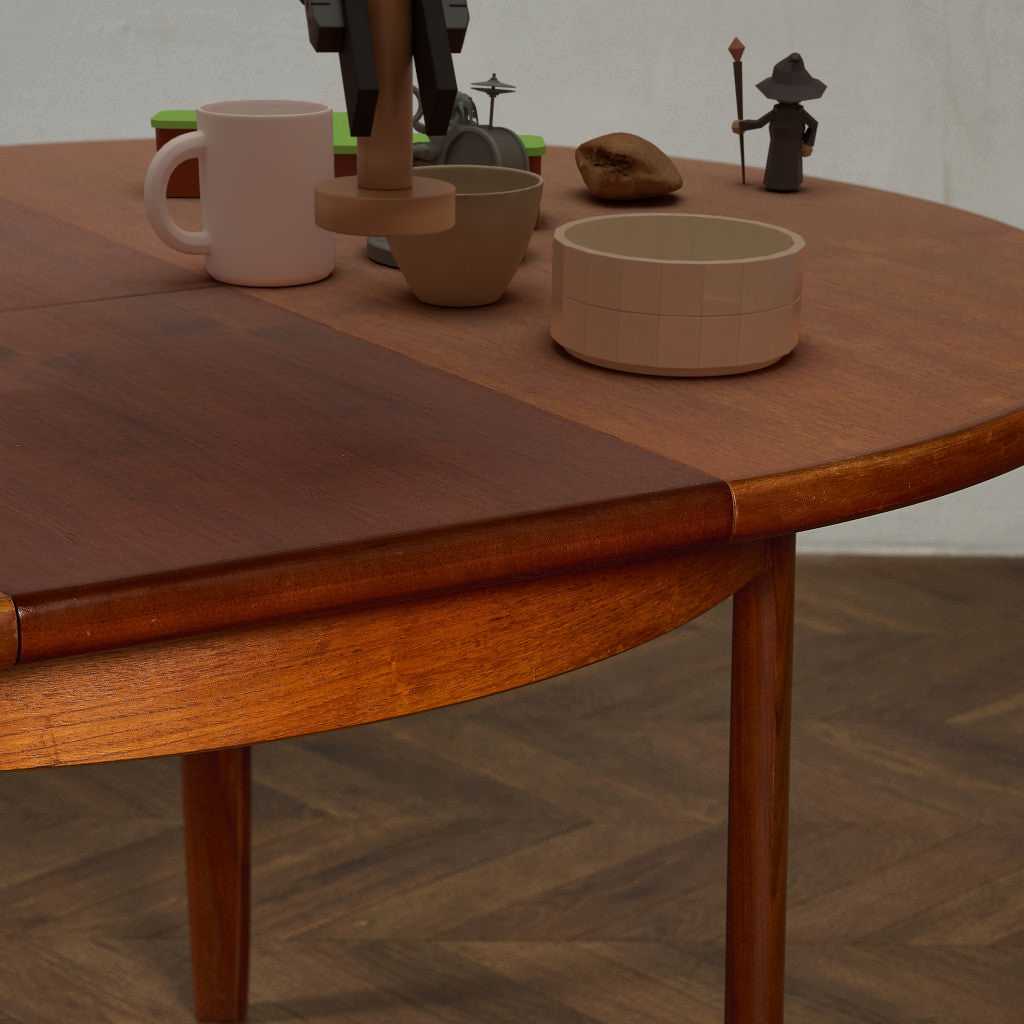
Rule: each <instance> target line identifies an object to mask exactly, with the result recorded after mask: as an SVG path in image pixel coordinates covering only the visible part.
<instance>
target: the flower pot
mask: <svg viewBox="0 0 1024 1024" xmlns="http://www.w3.org/2000/svg"><path fill="white" fill-rule="evenodd" d="M413 176H417V177H425V178H432V179H437V180H441V181H445V182H448V183H450V184H452V185H454V187H455V189H456V204H455V225H454V227H452V228H451V229H449V230H446V231H443V232H439V233H434V234H429V235H421V236H409V237H386V240H387V242H388V245H389V247H390V250H391V252H392V254H393V256H394V258H395V261H396V263H397V265H398V267H397V268H398V269H399V271H400V273H401V275H402V276H403V278H404V280H405V281H406V283H407V284H408V286H409V288H410V289H411V291H412V292H413V294H414V296H415V297H416V298H417V299H418V300H419V301H421V302H423V303H425V304H428V305H432V306H433V305H434V306H439V307H440V306H441V307H449V308H451V307H452V308H467V307H469V308H470V307H477V306H478V307H479V306H485V305H489V304H492V303H495V302H497V301H499V300H500V299H501V298H502V296H503V295H504V293H505V292H506V290H507V288H508V286H509V285H510V283H511V281H512V280H513V278H514V277H515V275H516V273H517V271H518V269H519V268H520V265H521V263H522V261H523V260H524V259H523V257H524V254H525V255H526V252H527V249H528V248H529V245H530V243H531V239H532V236H533V233H534V230H535V229H534V227H535V224H536V220H537V216H538V212H539V208H540V209H541V202H542V198H543V191H544V183H545V182H544V181H545V180H544V178H543V177H542V175H541V176H540V175H538V174H535V173H532V172H528V171H524V170H518V169H513V168H505V167H496V166H481V165H435V166H421V167H413ZM522 259H523V260H522Z"/></svg>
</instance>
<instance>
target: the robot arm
mask: <svg viewBox="0 0 1024 1024" xmlns="http://www.w3.org/2000/svg"><path fill="white" fill-rule="evenodd" d="M298 1H299V2H300V4H302V5H303V6H304V11H305V18H306V26H307V33H308V40H309V43H310V45H311V47H312V48H313V50H314V51H315V53H317V54H318V53H323V54H325V53H334V54H337V53H338V59H339V67H340V73H341V80H342V85H343V86H342V87H343V94H344V99H345V100H344V101H345V109H346V112H347V115H348V122H349V129H350V136H351V137H371V132H372V127H373V121H374V116H375V111H376V105H377V100H378V94H379V85H378V79H377V72H376V66H375V60H374V53H373V47H372V40H371V34H370V28H369V21H368V15H367V9H366V2H365V0H298ZM470 21H471V17H470V12H469V7H468V0H413V65H414V69H415V73H416V81H417V88H418V89H419V93H420V99H421V105H422V111H423V116H422V117H423V122H424V123H423V124H425V128H426V134H427V136H446V135H447V131H448V127H449V123H450V119H451V115H452V111H453V107H454V103H455V99H456V95H457V91H459V90H458V89H459V88H458V83H457V77H456V72H455V71H456V70H455V66H454V60H453V56H452V55H453V54H461V53H462V50H463V48H464V44H465V39H466V36H467V31H468V28H469V24H470Z"/></svg>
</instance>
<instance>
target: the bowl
mask: <svg viewBox="0 0 1024 1024" xmlns="http://www.w3.org/2000/svg"><path fill="white" fill-rule="evenodd" d="M806 249H807V244H806V242H805V240H804V238H803V236H802V235H800V234H799V233H796V232H794V231H792V230H789V229H787V228H785V227H782V226H778V225H774V224H770V223H767V222H763V221H757V220H751V219H744V218H738V217H732V216H723V215H713V214H712V215H711V214H700V213H684V212H683V213H681V212H680V213H679V212H678V213H677V212H638V213H635V212H634V213H617V214H607V215H598V216H590V217H585V218H581V219H577V220H572V221H568V222H566V223H564V224H562V225H559V226H558V227H556V228H554V230H553V235H552V262H551V263H552V264H551V295H550V296H551V301H550V337H551V338H552V339H553V340H554V341H555V342H557V343H558V344H559V346H561V347H563V349H564V350H565V351H566V352H567V353H568V354H569V355H571V356H573V357H574V358H577V359H578V360H580V361H583V362H585V363H588V364H591V365H593V366H594V365H595V366H598V367H602V368H605V369H608V370H609V369H610V370H614V371H619V372H624V373H632V374H640V375H648V376H660V377H679V378H682V377H683V378H685V377H686V378H688V377H689V378H698V377H699V378H701V377H718V376H719V377H720V376H730V375H736V374H737V375H738V374H742V373H743V374H744V373H748V372H753V371H757V370H761V369H764V368H766V367H770V366H773V365H774V364H776V363H777V362H778V361H780V360H781V359H782V358H783V357H784V356H786V355H788V354H790V353H791V352H792V351H793V349H794V348H795V347H796V346H797V345H798V344H799V334H800V322H801V311H802V300H803V299H802V298H803V287H804V285H803V284H804V275H805V262H806V251H807V250H806Z"/></svg>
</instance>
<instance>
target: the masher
mask: <svg viewBox="0 0 1024 1024" xmlns="http://www.w3.org/2000/svg"><path fill="white" fill-rule="evenodd" d="M365 2H366V9H367V15H368V21H369V28H370V34H371V40H372V47H373V53H374V60H375V66H376V72H377V79H378V85H379V94H378V100H377V105H376V111H375V116H374V121H373V127H372V132H371V137H357V176H346V177H338V178H332V179H328V180H324V181H321V182H319V183H317V184H316V185H315V187H314V216H315V224H316V225H317V226H318V227H320V228H322V229H324V230H327V231H331V232H335V233H336V234H341V235H348V236H354V237H355V236H357V237H367V238H368V237H409V236H421V235H429V234H434V233H439V232H443V231H446V230H449V229H451V228H452V227H454V225H455V204H456V189H455V187H454V185H452V184H450V183H448V182H445V181H441V180H437V179H432V178H425V177H417V176H413V134H414V128H413V116H414V94H413V85H414V58H413V0H365Z"/></svg>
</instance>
